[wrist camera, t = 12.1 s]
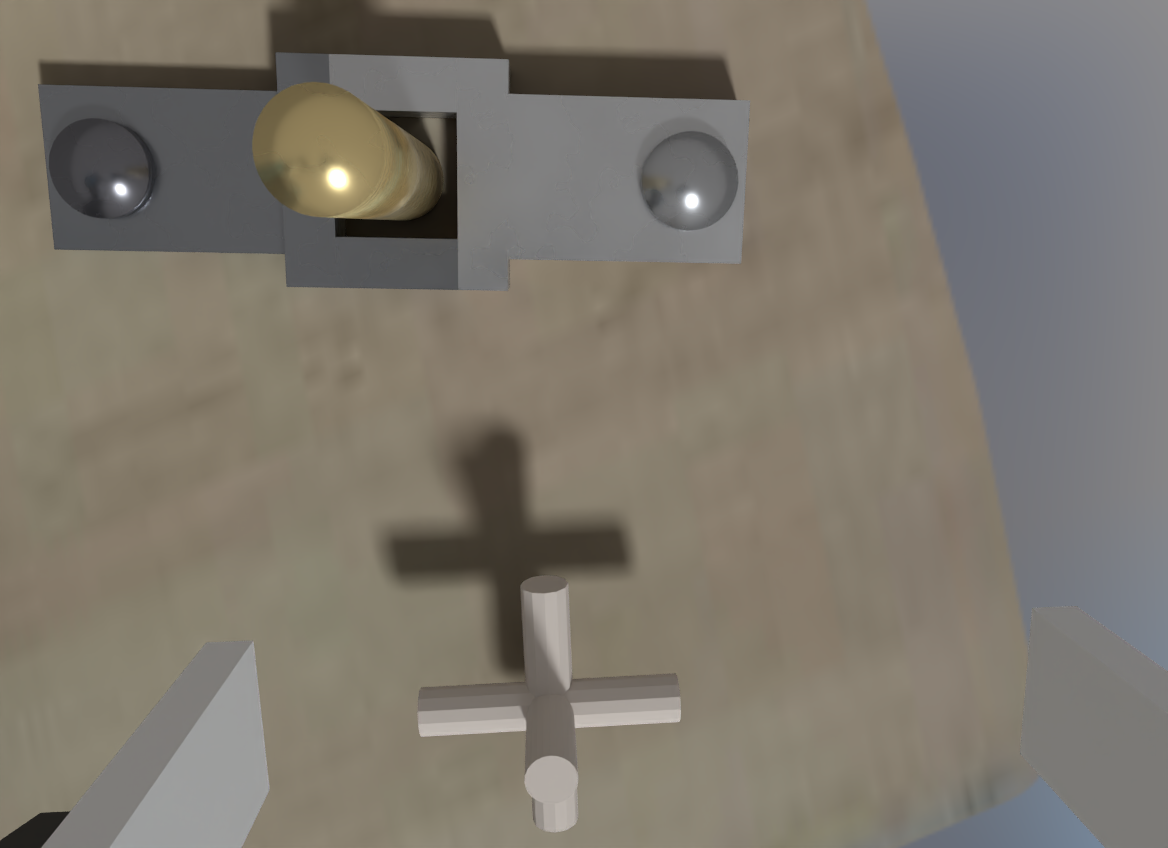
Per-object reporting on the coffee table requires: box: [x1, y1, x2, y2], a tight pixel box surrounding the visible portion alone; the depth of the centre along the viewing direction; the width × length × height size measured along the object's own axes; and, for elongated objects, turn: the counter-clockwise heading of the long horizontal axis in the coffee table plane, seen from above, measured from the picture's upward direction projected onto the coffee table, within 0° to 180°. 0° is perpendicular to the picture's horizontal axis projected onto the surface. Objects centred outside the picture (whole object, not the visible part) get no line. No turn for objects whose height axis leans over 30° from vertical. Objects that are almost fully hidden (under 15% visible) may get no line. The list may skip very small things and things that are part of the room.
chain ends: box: [38, 52, 750, 291], centre depth 35 cm, size 26×8×3 cm, turn 89°
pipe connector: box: [418, 575, 681, 832], centre depth 36 cm, size 10×10×10 cm
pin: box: [252, 82, 443, 220], centre depth 29 cm, size 3×3×14 cm
